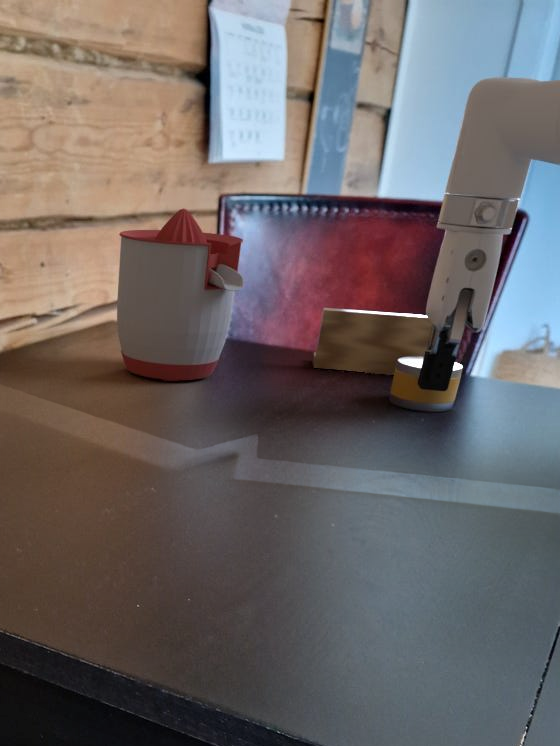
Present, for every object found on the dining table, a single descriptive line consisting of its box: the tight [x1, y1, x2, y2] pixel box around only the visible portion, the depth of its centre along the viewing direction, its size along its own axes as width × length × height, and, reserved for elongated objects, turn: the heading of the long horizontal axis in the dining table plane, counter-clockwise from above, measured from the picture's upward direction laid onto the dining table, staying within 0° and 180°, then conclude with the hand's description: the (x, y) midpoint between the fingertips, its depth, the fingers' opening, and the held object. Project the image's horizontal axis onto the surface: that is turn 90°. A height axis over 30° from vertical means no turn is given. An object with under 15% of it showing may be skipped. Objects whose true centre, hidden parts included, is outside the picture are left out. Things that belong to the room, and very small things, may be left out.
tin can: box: [388, 356, 464, 413], centre depth 106 cm, size 8×8×5 cm
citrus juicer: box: [116, 208, 244, 382], centre depth 111 cm, size 16×17×20 cm
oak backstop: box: [312, 307, 432, 376], centre depth 121 cm, size 18×6×8 cm, turn 79°
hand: (431, 388), depth 101 cm, fingers closed
